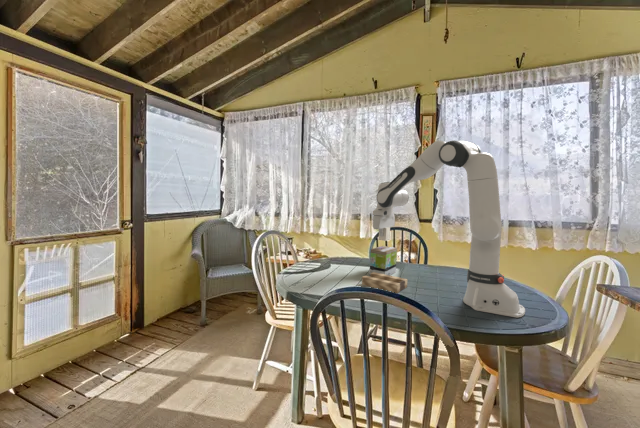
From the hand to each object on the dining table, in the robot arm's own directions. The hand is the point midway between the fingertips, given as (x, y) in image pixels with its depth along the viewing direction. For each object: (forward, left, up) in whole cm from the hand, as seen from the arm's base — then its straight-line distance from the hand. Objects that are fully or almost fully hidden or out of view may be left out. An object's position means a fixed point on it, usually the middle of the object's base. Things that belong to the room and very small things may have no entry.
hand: (384, 235), depth 169 cm
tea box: (0, 0, -22) cm, 22 cm away
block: (0, 0, -2) cm, 2 cm away
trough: (-11, +19, -22) cm, 31 cm away
